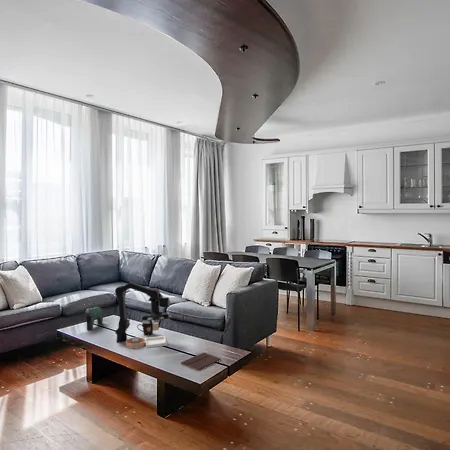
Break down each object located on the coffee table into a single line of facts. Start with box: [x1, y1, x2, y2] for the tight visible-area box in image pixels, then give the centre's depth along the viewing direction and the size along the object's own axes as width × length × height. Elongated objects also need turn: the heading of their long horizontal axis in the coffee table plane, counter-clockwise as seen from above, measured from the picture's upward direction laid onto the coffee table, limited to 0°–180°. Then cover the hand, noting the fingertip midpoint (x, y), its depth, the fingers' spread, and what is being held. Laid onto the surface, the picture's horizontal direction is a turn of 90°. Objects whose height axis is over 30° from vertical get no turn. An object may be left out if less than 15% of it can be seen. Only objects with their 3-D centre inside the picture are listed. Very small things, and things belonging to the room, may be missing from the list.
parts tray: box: [144, 335, 168, 348], centre depth 257 cm, size 14×15×2 cm
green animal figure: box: [84, 302, 104, 331], centre depth 295 cm, size 20×6×20 cm, turn 167°
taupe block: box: [152, 321, 160, 332], centre depth 260 cm, size 4×5×4 cm
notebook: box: [180, 352, 221, 372], centre depth 225 cm, size 15×20×2 cm
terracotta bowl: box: [125, 336, 146, 349], centre depth 253 cm, size 13×13×4 cm
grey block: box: [132, 337, 139, 344], centre depth 251 cm, size 4×5×4 cm
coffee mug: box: [136, 319, 155, 336], centre depth 275 cm, size 12×9×10 cm
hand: (155, 328), depth 260 cm, fingers closed on taupe block, 4 cm apart
